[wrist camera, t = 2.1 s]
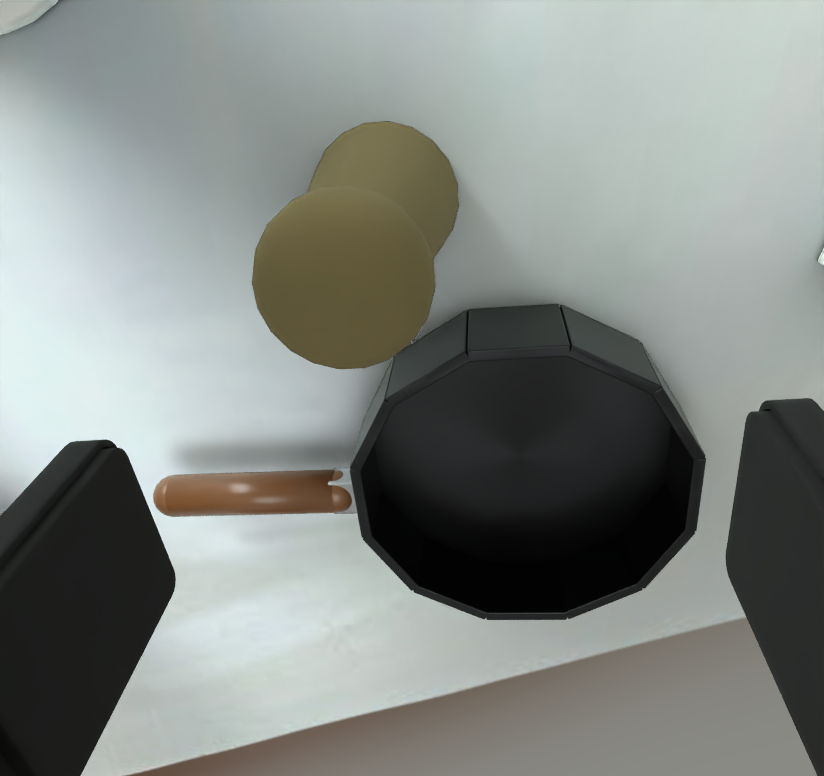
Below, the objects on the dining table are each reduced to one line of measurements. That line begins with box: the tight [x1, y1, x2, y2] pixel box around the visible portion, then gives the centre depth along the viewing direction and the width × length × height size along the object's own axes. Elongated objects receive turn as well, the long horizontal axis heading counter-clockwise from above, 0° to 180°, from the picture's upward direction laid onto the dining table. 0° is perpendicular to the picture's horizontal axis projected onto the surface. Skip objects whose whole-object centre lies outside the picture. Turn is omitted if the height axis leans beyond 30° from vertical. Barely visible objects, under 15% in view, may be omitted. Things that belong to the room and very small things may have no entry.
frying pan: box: [153, 304, 706, 620], centre depth 31 cm, size 25×15×4 cm, turn 96°
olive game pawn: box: [252, 121, 459, 369], centre depth 22 cm, size 6×6×11 cm
